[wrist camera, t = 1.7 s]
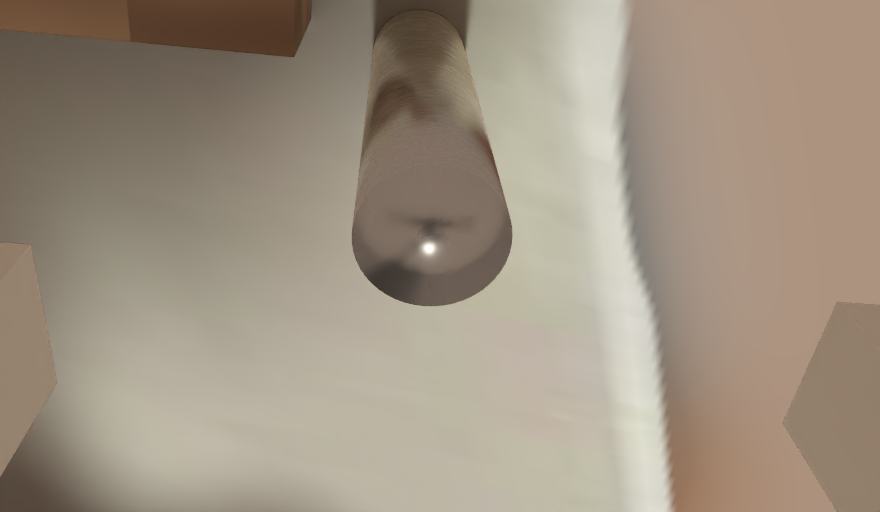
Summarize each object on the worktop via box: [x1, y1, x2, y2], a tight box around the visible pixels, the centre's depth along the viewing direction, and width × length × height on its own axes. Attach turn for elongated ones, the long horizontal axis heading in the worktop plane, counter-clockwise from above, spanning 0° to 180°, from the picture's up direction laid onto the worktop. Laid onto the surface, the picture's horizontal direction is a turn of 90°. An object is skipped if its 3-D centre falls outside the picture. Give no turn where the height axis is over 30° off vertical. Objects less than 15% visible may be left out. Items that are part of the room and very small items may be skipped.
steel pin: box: [352, 10, 512, 306], centre depth 22 cm, size 3×3×14 cm
